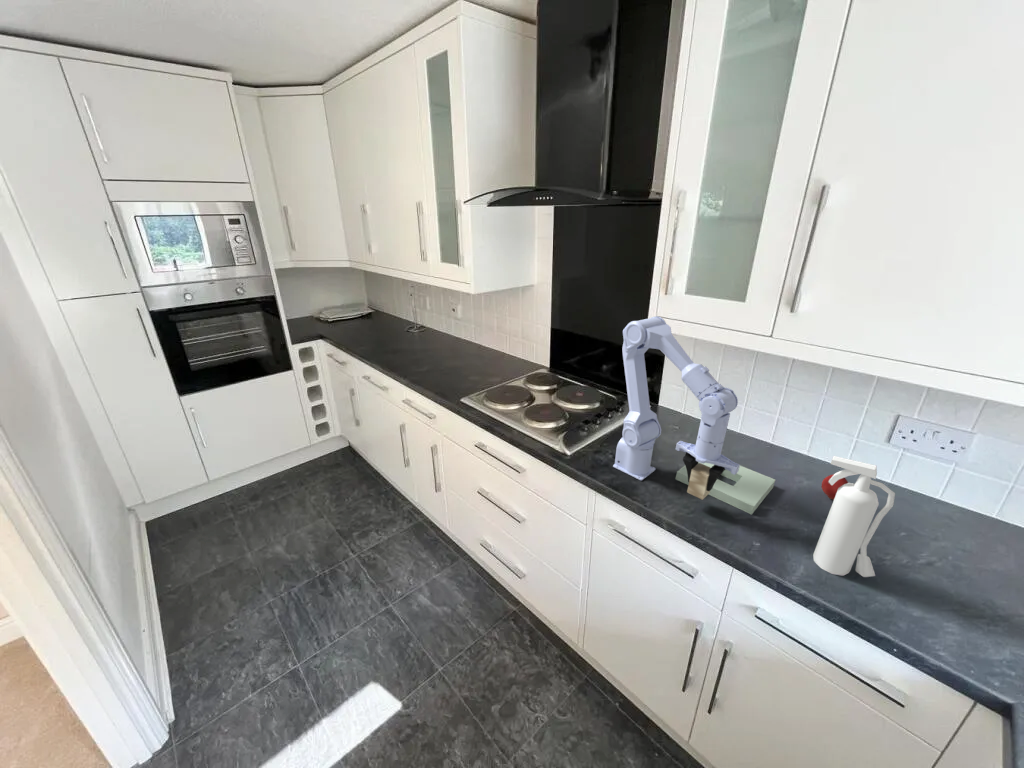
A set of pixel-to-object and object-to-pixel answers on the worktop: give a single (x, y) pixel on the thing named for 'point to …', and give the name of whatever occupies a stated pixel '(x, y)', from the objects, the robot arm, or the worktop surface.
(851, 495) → the fire extinguisher
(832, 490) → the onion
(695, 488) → the beech block
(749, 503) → the well board
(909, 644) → the worktop surface
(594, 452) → the worktop surface
